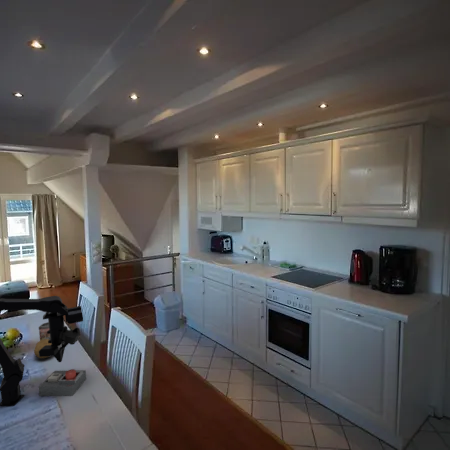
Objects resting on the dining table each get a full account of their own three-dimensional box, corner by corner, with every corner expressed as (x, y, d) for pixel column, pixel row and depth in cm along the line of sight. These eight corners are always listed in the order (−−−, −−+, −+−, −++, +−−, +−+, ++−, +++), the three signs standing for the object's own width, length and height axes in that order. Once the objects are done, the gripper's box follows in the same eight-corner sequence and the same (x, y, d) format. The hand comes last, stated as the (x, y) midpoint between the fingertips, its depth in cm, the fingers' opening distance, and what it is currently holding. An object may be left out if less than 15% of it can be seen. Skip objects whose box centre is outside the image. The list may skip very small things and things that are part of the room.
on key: (57, 389, 134) (56, 378, 133) (48, 389, 134) (47, 378, 133) (62, 383, 138) (61, 373, 137) (53, 384, 138) (52, 373, 137)
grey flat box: (72, 395, 130) (71, 384, 129) (39, 396, 130) (38, 384, 130) (86, 378, 141) (85, 368, 141) (55, 379, 142) (54, 368, 142)
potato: (53, 348, 172) (52, 334, 171) (58, 358, 161) (57, 343, 160) (32, 354, 166) (31, 339, 165) (36, 365, 155) (34, 349, 154)
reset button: (73, 385, 133) (72, 374, 133) (64, 385, 134) (63, 374, 133) (78, 379, 137) (77, 369, 137) (69, 379, 138) (68, 369, 137)
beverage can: (38, 344, 178) (37, 323, 177) (55, 339, 183) (53, 319, 182) (41, 350, 170) (39, 328, 169) (58, 345, 175) (56, 324, 174)
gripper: (64, 335, 124) (67, 373, 126) (85, 317, 143) (88, 350, 144) (36, 336, 124) (40, 374, 126) (61, 318, 143) (64, 351, 144)
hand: (60, 361), depth 135 cm, fingers closed
